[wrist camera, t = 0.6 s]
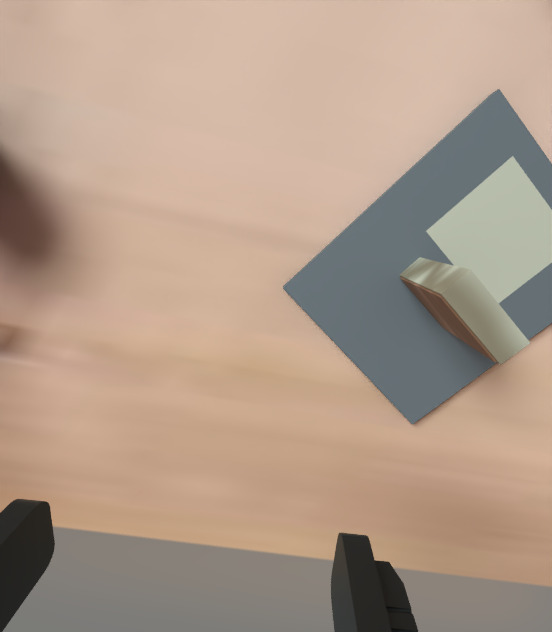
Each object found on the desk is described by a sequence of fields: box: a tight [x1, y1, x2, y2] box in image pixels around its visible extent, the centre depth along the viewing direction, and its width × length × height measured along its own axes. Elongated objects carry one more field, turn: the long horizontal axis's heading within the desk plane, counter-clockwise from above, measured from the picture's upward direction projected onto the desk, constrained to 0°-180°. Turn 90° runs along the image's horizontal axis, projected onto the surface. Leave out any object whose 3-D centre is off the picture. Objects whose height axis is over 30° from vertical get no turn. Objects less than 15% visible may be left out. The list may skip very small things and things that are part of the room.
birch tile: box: [399, 257, 530, 364], centre depth 27 cm, size 3×7×9 cm, turn 43°
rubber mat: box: [283, 89, 552, 424], centre depth 32 cm, size 24×20×1 cm
